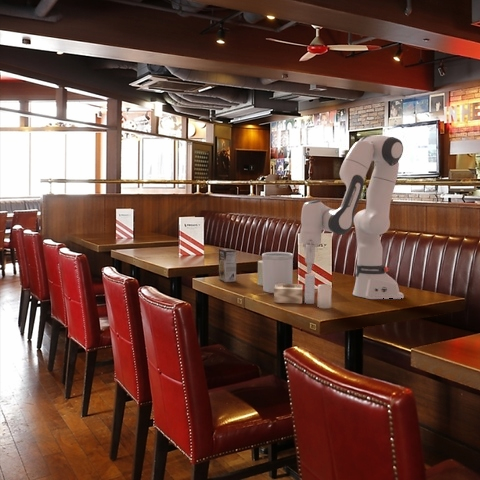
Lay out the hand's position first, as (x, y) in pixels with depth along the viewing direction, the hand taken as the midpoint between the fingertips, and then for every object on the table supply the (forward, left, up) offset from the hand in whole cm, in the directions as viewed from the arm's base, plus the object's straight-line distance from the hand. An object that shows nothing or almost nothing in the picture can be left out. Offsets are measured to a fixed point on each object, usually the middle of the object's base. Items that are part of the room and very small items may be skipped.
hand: (308, 271), depth 233 cm
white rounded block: (-7, +7, -14) cm, 16 cm away
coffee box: (+41, -47, -14) cm, 64 cm away
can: (+20, -39, -14) cm, 46 cm away
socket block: (+8, -4, -14) cm, 17 cm away
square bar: (-1, 0, -14) cm, 14 cm away
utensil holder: (+15, -24, -14) cm, 31 cm away
